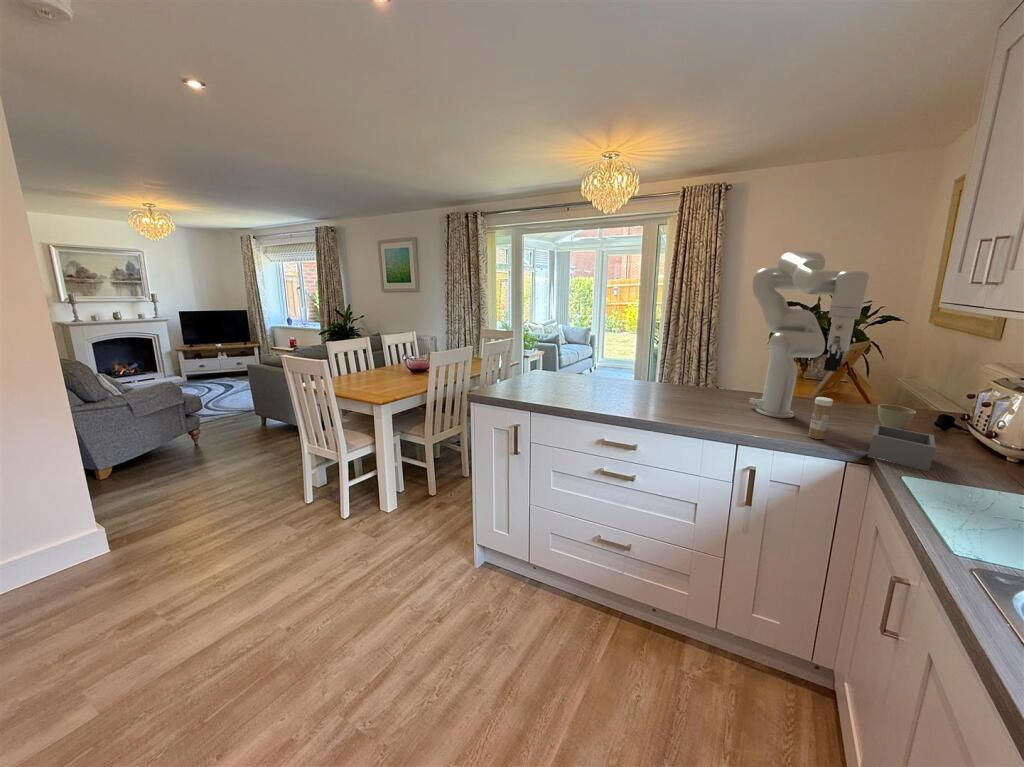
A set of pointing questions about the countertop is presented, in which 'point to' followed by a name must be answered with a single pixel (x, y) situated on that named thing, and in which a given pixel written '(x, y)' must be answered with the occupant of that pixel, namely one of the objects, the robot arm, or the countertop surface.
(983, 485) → the countertop surface
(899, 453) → the bin
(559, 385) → the countertop surface
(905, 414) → the pale green bowl
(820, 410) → the sprinkles bottle
